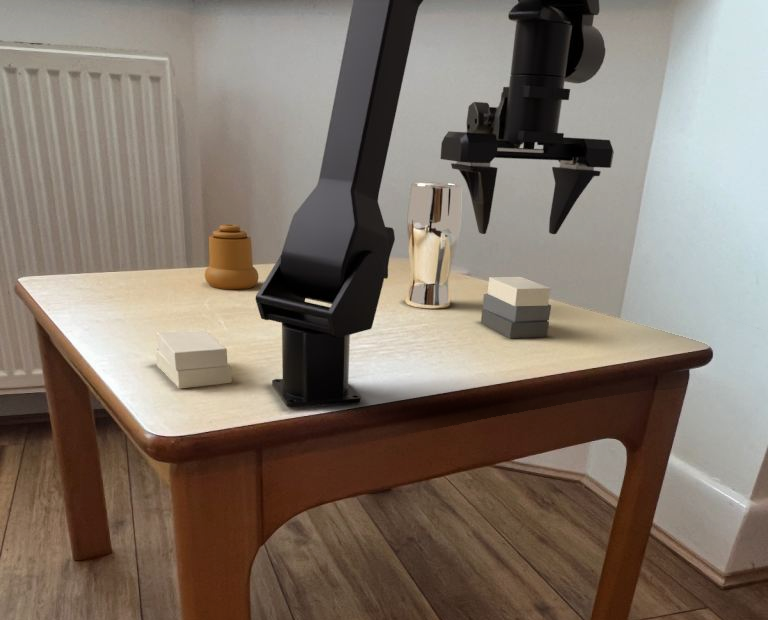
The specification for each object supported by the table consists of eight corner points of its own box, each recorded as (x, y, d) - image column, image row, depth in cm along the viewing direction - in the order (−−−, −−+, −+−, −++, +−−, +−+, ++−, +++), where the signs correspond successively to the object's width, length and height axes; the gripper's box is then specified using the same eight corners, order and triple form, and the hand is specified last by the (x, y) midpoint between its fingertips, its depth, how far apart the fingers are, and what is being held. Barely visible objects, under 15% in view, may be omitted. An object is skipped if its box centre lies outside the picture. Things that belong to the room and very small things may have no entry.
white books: (232, 383, 67) (231, 348, 66) (178, 389, 65) (175, 353, 63) (206, 360, 73) (204, 328, 71) (155, 365, 70) (152, 332, 69)
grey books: (548, 336, 88) (553, 306, 87) (509, 338, 87) (513, 307, 85) (516, 321, 95) (520, 292, 93) (479, 322, 93) (482, 293, 92)
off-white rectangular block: (548, 305, 87) (550, 288, 86) (514, 306, 85) (517, 288, 84) (518, 293, 93) (520, 276, 92) (487, 294, 91) (489, 277, 90)
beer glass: (393, 304, 100) (400, 182, 93) (415, 296, 106) (423, 181, 99) (440, 312, 97) (451, 187, 90) (460, 303, 103) (472, 185, 96)
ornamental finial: (267, 283, 108) (243, 292, 102) (221, 278, 110) (195, 286, 104) (266, 225, 105) (241, 230, 98) (218, 220, 107) (191, 225, 100)
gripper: (571, 84, 88) (551, 225, 95) (426, 73, 82) (416, 224, 89) (629, 82, 79) (601, 237, 86) (470, 69, 73) (455, 237, 80)
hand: (517, 233), depth 86 cm, fingers open, 9 cm apart
